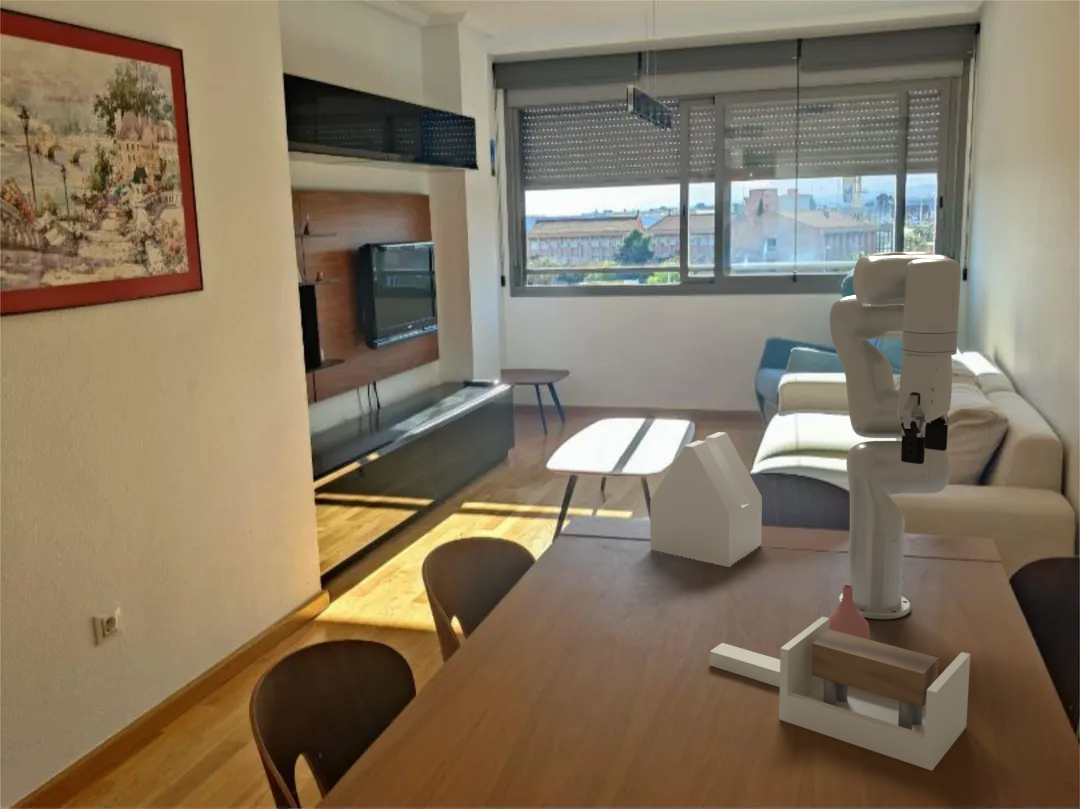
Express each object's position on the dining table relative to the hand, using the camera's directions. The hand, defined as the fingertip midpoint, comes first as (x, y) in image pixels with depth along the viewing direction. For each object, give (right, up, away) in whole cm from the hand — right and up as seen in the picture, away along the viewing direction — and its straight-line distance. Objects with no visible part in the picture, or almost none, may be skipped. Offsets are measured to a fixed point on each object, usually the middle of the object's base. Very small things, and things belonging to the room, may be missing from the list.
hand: (924, 455), depth 146 cm
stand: (-10, -38, -6) cm, 40 cm away
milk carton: (-21, -25, +69) cm, 77 cm away
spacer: (-23, -36, +11) cm, 44 cm away
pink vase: (-7, -34, +16) cm, 38 cm away
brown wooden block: (-10, -32, -7) cm, 34 cm away
